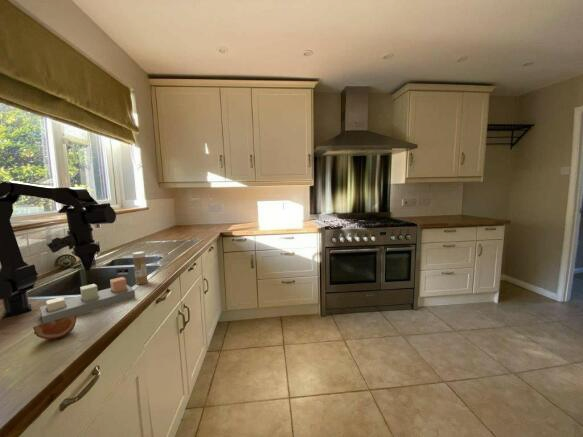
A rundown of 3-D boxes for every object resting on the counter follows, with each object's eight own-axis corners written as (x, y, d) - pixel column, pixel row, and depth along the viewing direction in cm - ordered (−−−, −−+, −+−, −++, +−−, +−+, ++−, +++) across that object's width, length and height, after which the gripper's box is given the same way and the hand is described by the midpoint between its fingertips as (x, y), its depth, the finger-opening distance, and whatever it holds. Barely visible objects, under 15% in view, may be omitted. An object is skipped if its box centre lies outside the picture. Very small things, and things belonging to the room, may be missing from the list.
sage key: (81, 300, 85) (79, 287, 85) (96, 296, 88) (94, 283, 88) (84, 303, 83) (82, 290, 82) (98, 299, 86) (97, 286, 85)
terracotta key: (111, 292, 92) (109, 279, 91) (124, 288, 95) (122, 276, 94) (114, 295, 89) (112, 282, 88) (127, 291, 92) (125, 278, 91)
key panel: (41, 315, 80) (39, 306, 80) (126, 291, 98) (126, 283, 98) (43, 326, 74) (42, 316, 73) (135, 297, 91) (134, 290, 91)
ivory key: (48, 315, 79) (46, 300, 79) (65, 310, 82) (62, 296, 82) (49, 319, 77) (47, 304, 76) (66, 314, 80) (64, 299, 79)
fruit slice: (35, 349, 62) (32, 330, 62) (35, 338, 67) (32, 321, 66) (79, 334, 68) (76, 317, 68) (76, 326, 73) (73, 309, 72)
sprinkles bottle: (133, 284, 105) (129, 253, 103) (142, 280, 109) (139, 250, 108) (141, 285, 104) (138, 254, 102) (150, 281, 108) (147, 251, 106)
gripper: (44, 227, 83) (52, 272, 85) (47, 231, 70) (56, 284, 72) (87, 222, 91) (93, 264, 93) (96, 225, 78) (104, 273, 80)
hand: (87, 271), depth 84 cm, fingers closed
